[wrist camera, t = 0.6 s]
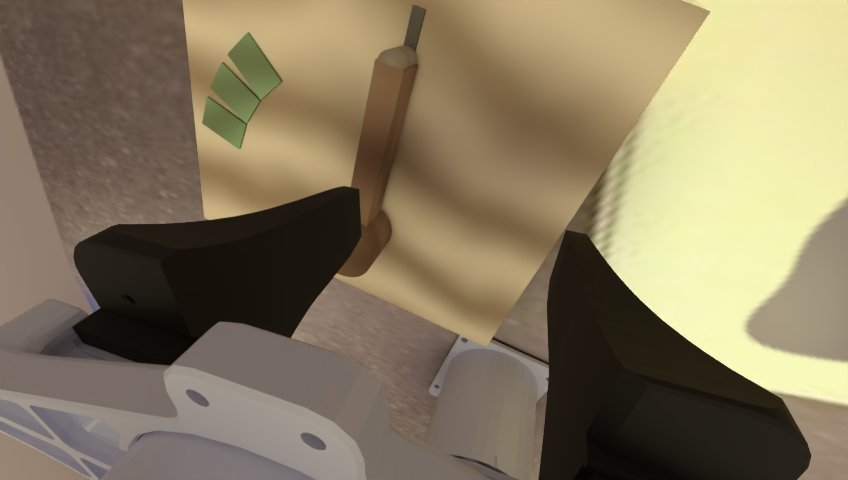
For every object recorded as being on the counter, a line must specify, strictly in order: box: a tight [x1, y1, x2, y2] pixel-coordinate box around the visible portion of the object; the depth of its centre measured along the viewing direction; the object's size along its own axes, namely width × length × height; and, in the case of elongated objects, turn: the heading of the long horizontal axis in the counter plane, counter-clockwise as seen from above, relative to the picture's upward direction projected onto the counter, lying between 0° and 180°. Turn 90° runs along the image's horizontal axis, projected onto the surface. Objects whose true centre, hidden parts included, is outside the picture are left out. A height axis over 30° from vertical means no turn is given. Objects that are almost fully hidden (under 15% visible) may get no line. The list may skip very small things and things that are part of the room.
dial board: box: [183, 0, 710, 347], centre depth 22 cm, size 22×24×1 cm
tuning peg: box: [337, 45, 418, 277], centre depth 20 cm, size 13×4×3 cm, turn 163°
